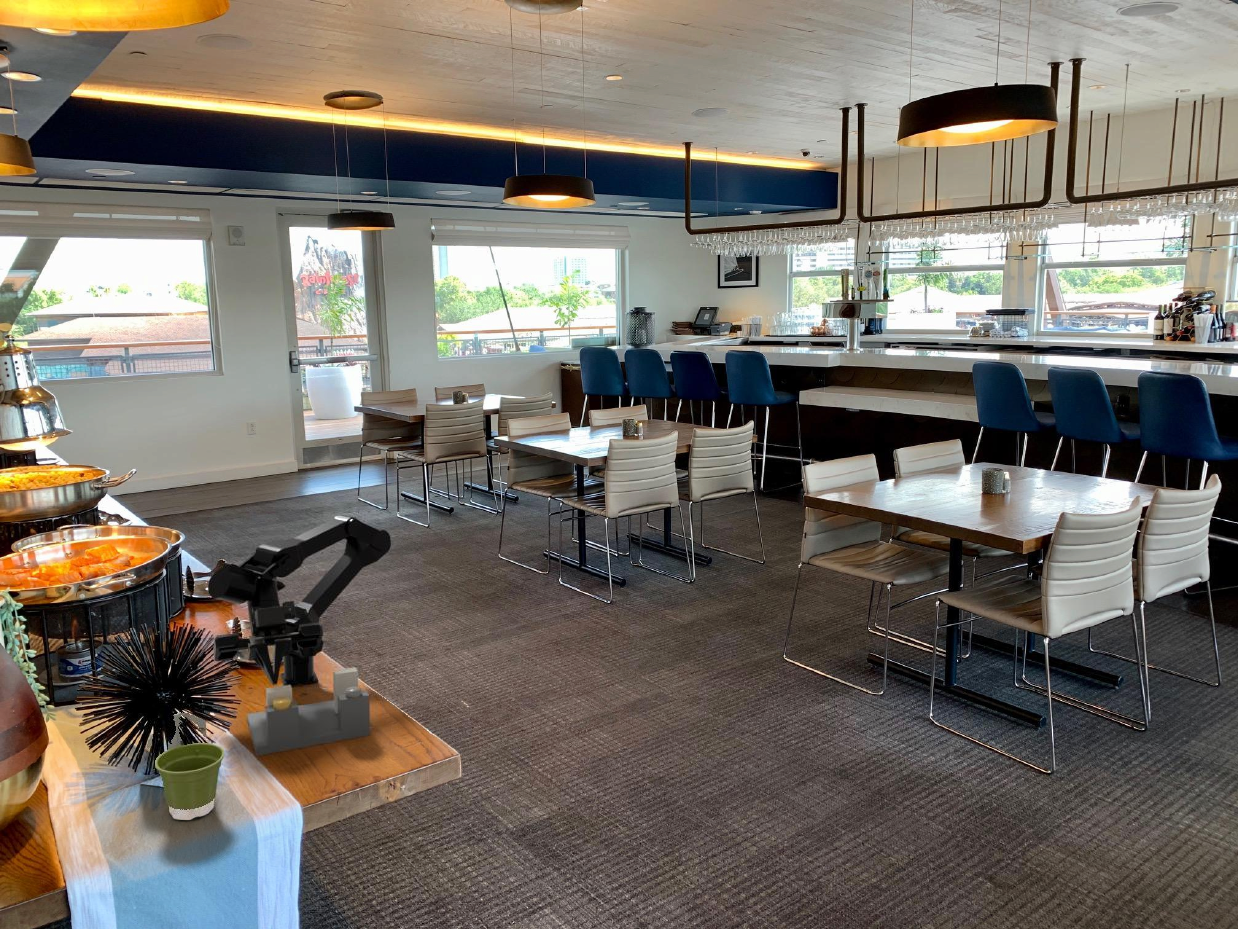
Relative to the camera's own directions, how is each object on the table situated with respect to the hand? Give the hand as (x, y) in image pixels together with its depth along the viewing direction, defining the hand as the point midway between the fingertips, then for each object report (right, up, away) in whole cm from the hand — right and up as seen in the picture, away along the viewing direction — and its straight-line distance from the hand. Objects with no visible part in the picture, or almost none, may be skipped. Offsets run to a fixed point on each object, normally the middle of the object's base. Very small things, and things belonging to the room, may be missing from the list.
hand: (275, 683), depth 166 cm
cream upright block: (+12, -5, +2) cm, 14 cm away
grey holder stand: (+7, -8, -2) cm, 10 cm away
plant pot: (-1, -12, -29) cm, 32 cm away
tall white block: (+3, -6, -7) cm, 10 cm away
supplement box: (-9, -10, -20) cm, 24 cm away
